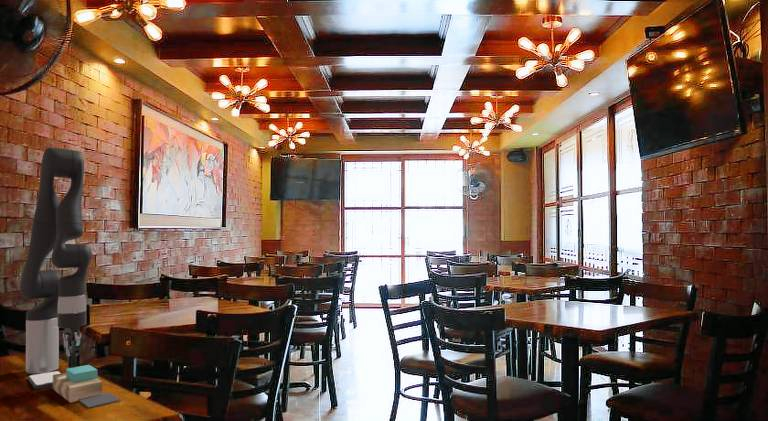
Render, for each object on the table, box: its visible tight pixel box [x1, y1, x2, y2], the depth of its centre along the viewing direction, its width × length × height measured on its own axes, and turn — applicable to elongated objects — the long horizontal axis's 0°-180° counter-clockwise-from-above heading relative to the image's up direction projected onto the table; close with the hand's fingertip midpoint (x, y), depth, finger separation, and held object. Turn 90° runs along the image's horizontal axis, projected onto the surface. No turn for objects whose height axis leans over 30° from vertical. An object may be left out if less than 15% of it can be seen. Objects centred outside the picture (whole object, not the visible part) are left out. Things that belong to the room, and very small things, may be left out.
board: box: [52, 372, 103, 404], centre depth 153 cm, size 18×8×4 cm, turn 45°
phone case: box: [27, 370, 61, 390], centre depth 164 cm, size 9×2×16 cm
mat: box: [77, 392, 122, 409], centre depth 145 cm, size 9×8×1 cm
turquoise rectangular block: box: [65, 364, 99, 383], centre depth 153 cm, size 8×6×2 cm
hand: (72, 368), depth 160 cm, fingers closed
